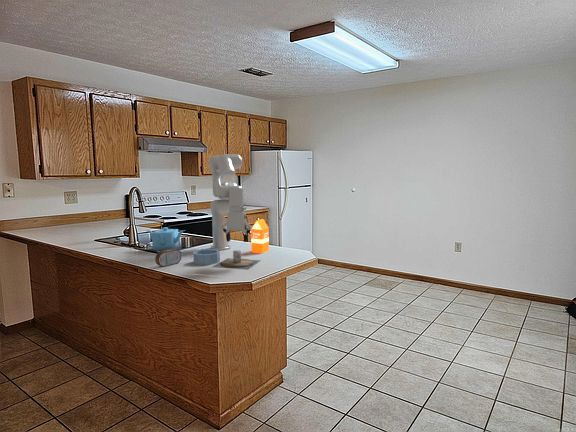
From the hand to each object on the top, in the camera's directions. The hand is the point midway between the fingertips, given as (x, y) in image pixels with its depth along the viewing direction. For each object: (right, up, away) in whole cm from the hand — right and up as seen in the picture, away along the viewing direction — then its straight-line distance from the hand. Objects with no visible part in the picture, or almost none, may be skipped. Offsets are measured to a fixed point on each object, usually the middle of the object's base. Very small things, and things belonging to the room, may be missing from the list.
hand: (237, 241), depth 207 cm
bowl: (-18, -12, +7) cm, 22 cm away
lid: (0, -12, +2) cm, 12 cm away
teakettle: (-50, -9, +37) cm, 63 cm away
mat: (0, -13, +2) cm, 13 cm away
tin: (-37, -13, +2) cm, 39 cm away
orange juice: (+10, -9, +35) cm, 38 cm away
